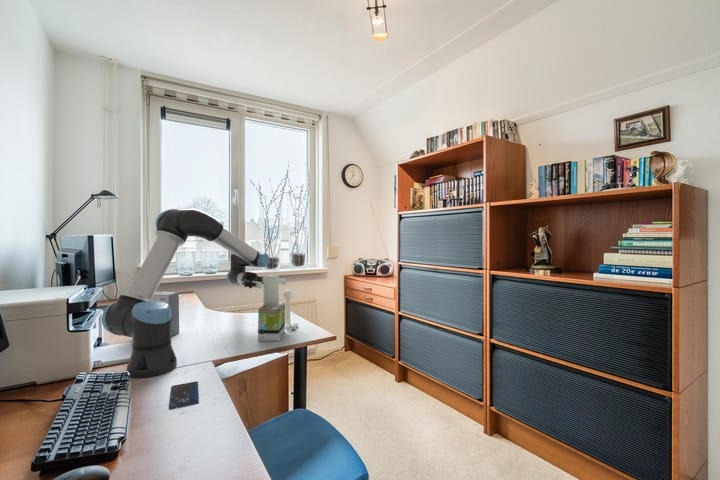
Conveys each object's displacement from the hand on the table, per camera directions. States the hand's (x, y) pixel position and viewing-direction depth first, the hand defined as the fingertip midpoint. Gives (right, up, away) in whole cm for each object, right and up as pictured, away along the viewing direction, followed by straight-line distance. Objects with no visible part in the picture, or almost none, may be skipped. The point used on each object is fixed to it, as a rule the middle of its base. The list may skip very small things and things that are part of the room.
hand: (273, 283), depth 154 cm
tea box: (-1, -25, +1) cm, 26 cm away
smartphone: (-12, -27, -55) cm, 63 cm away
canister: (-1, -10, +1) cm, 11 cm away
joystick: (+5, -25, +16) cm, 30 cm away
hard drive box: (-55, -25, +2) cm, 60 cm away
